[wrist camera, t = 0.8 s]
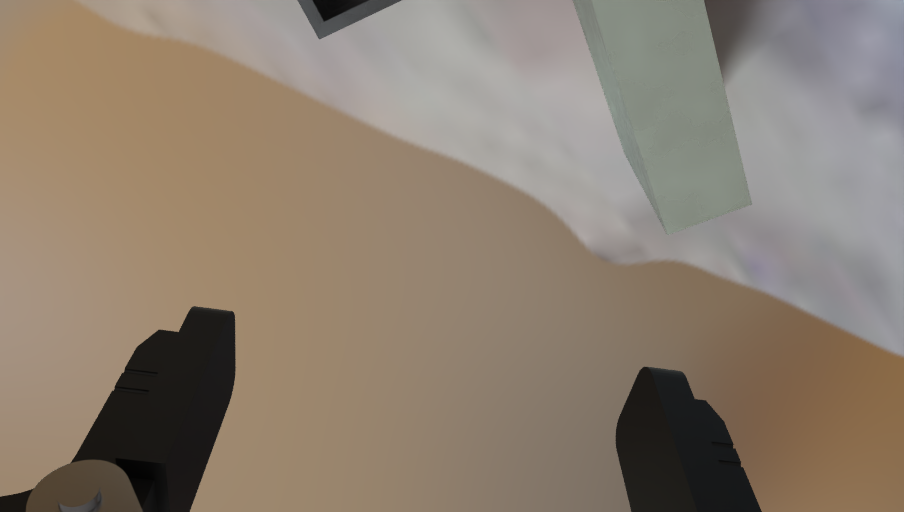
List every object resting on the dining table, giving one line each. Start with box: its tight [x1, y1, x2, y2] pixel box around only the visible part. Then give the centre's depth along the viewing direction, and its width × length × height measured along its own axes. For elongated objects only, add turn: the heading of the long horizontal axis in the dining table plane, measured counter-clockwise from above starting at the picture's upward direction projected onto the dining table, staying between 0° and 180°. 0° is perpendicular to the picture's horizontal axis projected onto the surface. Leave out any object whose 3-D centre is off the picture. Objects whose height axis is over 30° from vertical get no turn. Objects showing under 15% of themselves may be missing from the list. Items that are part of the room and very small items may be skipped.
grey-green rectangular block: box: [573, 0, 752, 235], centre depth 33 cm, size 4×12×9 cm, turn 24°
